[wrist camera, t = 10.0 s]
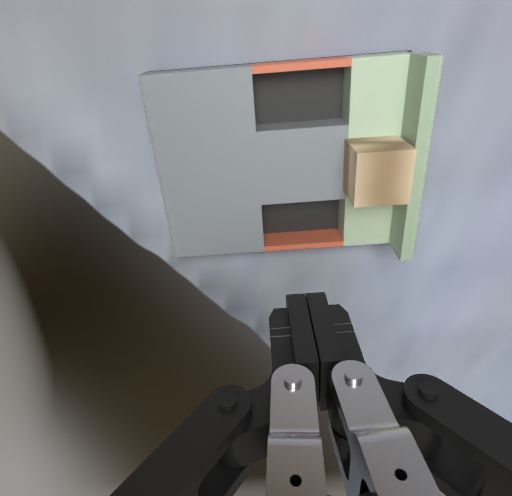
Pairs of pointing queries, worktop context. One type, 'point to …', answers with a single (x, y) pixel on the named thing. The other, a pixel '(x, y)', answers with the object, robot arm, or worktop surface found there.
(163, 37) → the worktop surface
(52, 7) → the worktop surface
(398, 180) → the maple block
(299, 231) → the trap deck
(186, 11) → the worktop surface
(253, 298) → the worktop surface
